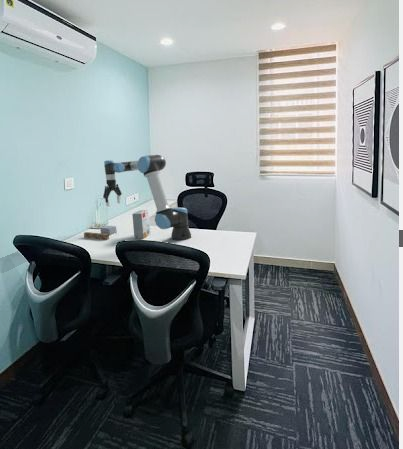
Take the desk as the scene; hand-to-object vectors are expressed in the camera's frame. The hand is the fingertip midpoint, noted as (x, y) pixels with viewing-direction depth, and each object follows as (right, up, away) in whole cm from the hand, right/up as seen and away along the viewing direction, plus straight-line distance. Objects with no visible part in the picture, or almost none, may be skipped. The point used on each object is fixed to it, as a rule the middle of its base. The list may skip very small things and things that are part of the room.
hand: (113, 204), depth 279 cm
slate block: (-4, -24, -1) cm, 25 cm away
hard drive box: (+27, -26, -16) cm, 41 cm away
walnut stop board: (-10, -28, -14) cm, 32 cm away
